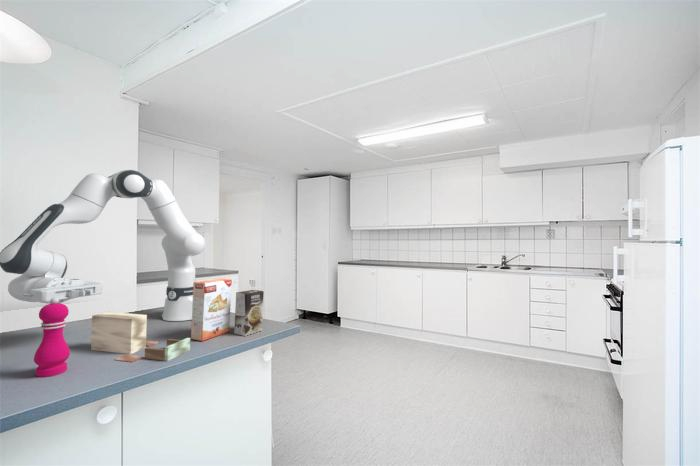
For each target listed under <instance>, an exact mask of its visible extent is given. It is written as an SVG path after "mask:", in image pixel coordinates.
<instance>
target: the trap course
mask: <svg viewBox="0 0 700 466" xmlns="http://www.w3.org/2000/svg"><path fill="white" fill-rule="evenodd" d="M157 344H159V341H153V340H146V348H145V349H144V356H143V355H142V356H141V355H132V354H125V355H122V356H119V357H117V358H114V361H118V362H126V363H134V362H136V361H138V360H141V359H142V358H144V359H145V360H146V359H147V360H154V361H162V362H164V361H165V362H169V361H171V360H172V359H174V358H177V357H178V356H181V355H183V354H186V353H187V352H189V351H191V337H186V338H183V339H176V338H175V339H173V338H168V339H166V346H165V347H164V348H156V347H151V346H155V345H157Z"/></svg>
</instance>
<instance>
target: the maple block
mask: <svg viewBox="0 0 700 466" xmlns="http://www.w3.org/2000/svg"><path fill="white" fill-rule="evenodd" d="M147 318H148V314H142V313H141V314H140V313H127V312H118V311H117V312H116V311H107V312H106V311H105V312H102V313H98V314H94V315H92V316H91V337H90V340H91V341H90V351H100V352H108V353H118V354H125V355H132V354H135V353H138V352H139V351H143V350H145V348H147V346H146V341H147V327H148V326H147V324H148V323H147V322H148V319H147Z"/></svg>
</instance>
